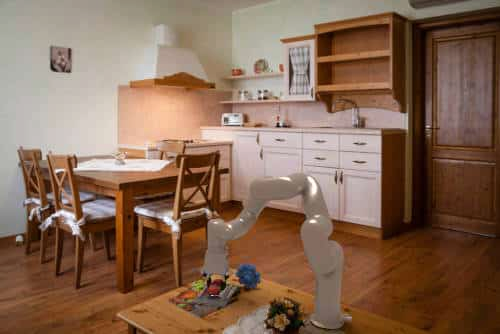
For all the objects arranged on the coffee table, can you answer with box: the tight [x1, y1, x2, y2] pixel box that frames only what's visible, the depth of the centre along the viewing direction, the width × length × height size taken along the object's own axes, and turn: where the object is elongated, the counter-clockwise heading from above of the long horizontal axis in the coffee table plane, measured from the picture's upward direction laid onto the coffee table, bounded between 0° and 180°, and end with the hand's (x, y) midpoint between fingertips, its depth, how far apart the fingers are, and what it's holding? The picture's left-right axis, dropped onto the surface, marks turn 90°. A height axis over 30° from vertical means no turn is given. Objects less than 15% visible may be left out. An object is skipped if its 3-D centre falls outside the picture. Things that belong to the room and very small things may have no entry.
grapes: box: [235, 262, 262, 289], centre depth 196 cm, size 12×7×12 cm, turn 84°
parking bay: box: [192, 280, 238, 308], centre depth 189 cm, size 14×21×2 cm, turn 168°
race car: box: [207, 278, 222, 295], centre depth 189 cm, size 13×5×4 cm, turn 162°
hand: (216, 288), depth 189 cm, fingers closed on race car, 5 cm apart
